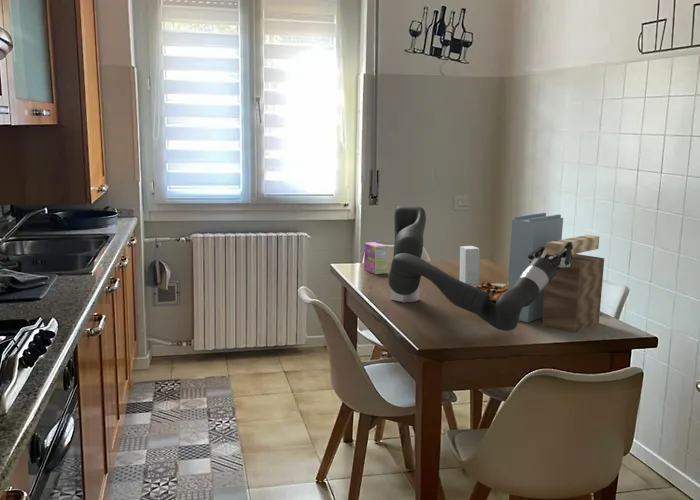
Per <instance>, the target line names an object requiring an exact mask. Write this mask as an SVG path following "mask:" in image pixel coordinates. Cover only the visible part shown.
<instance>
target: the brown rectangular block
mask: <svg viewBox="0 0 700 500" xmlns="http://www.w3.org/2000/svg"><path fill="white" fill-rule="evenodd" d="M568 242H571V243H572V246H573V249H572V250H571V252H572V255H573V254H581V253H585V252H591V251H595V250H599V245H600V236H599V235H591V234H585V235H580V236H574V237H571V238H570V237H569V238H562V240H558V241H552V242H546V252H547V254H549V255H554V254H555V253H558V252H561V250H562V249H564V247H565V246H566V245H567V243H568ZM563 255H564V254H563ZM563 255H562V256H563ZM558 257H559V256H558Z"/></svg>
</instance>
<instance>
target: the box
mask: <svg viewBox="0 0 700 500" xmlns="http://www.w3.org/2000/svg"><path fill="white" fill-rule="evenodd" d="M363 245H364V249H363V250H364V253H363V255H364V257H363V258H364V259H363V262H364V263H363V264H364V265H363V267H364V269H363V270H365V271H367V272H369V273H372V274H373V275H382V274H388V246H387V245H385V244H382V243H379V242H375V241H374V242H373V241H372V242H371V241H370V242H364V244H363Z"/></svg>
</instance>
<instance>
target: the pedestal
mask: <svg viewBox="0 0 700 500" xmlns="http://www.w3.org/2000/svg"><path fill="white" fill-rule="evenodd" d="M563 224H564V217H562V214H552V215H547V212H541V213H540V212H539V213H532V214H525V215H518V216H514V219H511V228H510V229H511V230H510V247H509V264H508V265H509V266H508V280H507V282H508V289H510V288H512V286H513V285H514V284H515V283H516V281H517V280H518V279H519V277H520V276H521V274H522V273H523V272H524V270H525V269H526V268H527V267H528V266H529V264H530V263H529V260H528V255H529V254H530V253H532V252H533V251H535V250H536V249H538V248H539V247H541V246H543V247H544V248H546V242H552V241H554V240H563V228H564V225H563ZM539 253H541V252H539ZM544 291H545V288H544V289H543V291H542V292H540V293H539V294H538V296H537V297H536V298H535V299H534V301H533V302H532V303H531V304H530V305H528V306H526V307H523V308H522V310H521V312H520V317H519V321H521V322H525V323H529V322H532V321H536V320H539V319H541V318H542V319H543V305H544Z"/></svg>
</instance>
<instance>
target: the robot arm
mask: <svg viewBox="0 0 700 500" xmlns="http://www.w3.org/2000/svg"><path fill="white" fill-rule="evenodd" d="M393 215H394V217H393V219H394V220H393V221H394V244H393V258H392V261H391V266H390V270H389V274H388V286H389V287H390V300H392V301H395V302H396V301H397V302H401V303H413V302H418V301H419V292H420V282H421V279H422V277H424V278H426V279H427V280H429V281H430V282H431V283H432V284H434V286H435V287H436V288H437V289H438V290H439V291H440V292H441V293H442V295H444V297H445V298H446V299H447V300H448V302H450V303H451V304H453V305H454V306H455V307H457V308H460V309H462V310H465V311H468V312H470V313H472V314H475V315H476V316H478V317H479V318H481V319H482V320H483V321H484V322H486V323H487V324H489V325H490V326H492V327H493V328H495V329H497V330H500V331H505V332H509V331H512V330H515V329H516V328H517V326H518V325H519V321H520V320H519V317H520V312H521V310H522V308H523V307H526V306H528V305H530V304H531V303H532V302H533V301H534V299H535V298H536V297H537V296H538V294H539V293H540V292H542V291H543V289H544V288H545V287H546V286H547V284H548V283H549V282H550V281H551V279H552V278H553V277H554V275H555V273H556V271H557V270H559V269H560V268H561V267H566V269H570V268H571V264H572V259H573V257H572V252H571V250H572V249H573V246H572V243H571V242H568V243H567V245H566V246H565V247H564V249H562V250H561V252H558V253H555V254H554V255H549V254H547V252H546V248H544V247H543V246H541V247H539V248H538V249H536V250H535V251H533V252H532V253H530V254H529V255H528V260H529V263H530V264H529V266H528V267H527V268H526V269H525V270H524V272H523V273H522V274H521V276H520V277H519V279H518V280H517V281H516V283H515V284H514V285H513V286H512V288H510V289H508V290H507V291H506V292H504V293H503V294H502V295H501V296H500V297H499V298H498V300H497V301H495V303H494V301H491V300H490V296H489V294H488V293H487V292H486V291H484V290H481V289H479V288H476V287H474V286H471V285H469V284H466V283H464V282H462V281H460V279H458V278H455V277H454V276H452V275H450V274H449V273H447V272H444V271H443V270H442V269H440V268H439V267H437V266H434V265H433V264H432V263H430V262H427V261H426V260H424V259H422V255H423V251H424V248H423V247H424V233H425V228H426V223H427V215H426V210H425V209H424V208H423V207H422V206H416V205H398V206H397V207H396V208H395V210H394V214H393ZM554 241H558V240H554ZM539 252H541V253H539ZM563 254H564V255H563ZM562 255H563V256H562ZM558 256H559V257H558Z"/></svg>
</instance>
